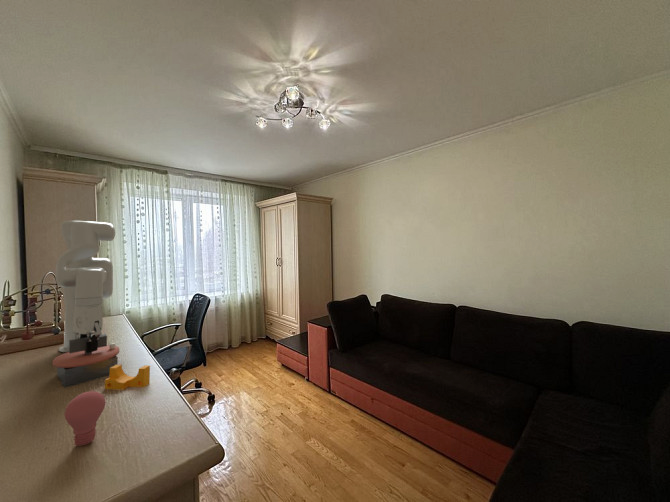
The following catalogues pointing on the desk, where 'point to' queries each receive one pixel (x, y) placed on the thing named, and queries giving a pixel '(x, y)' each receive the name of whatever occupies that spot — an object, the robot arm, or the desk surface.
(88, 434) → the light bulb
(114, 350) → the handwheel
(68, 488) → the desk surface
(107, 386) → the pipe clamp
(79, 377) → the block
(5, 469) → the desk surface
